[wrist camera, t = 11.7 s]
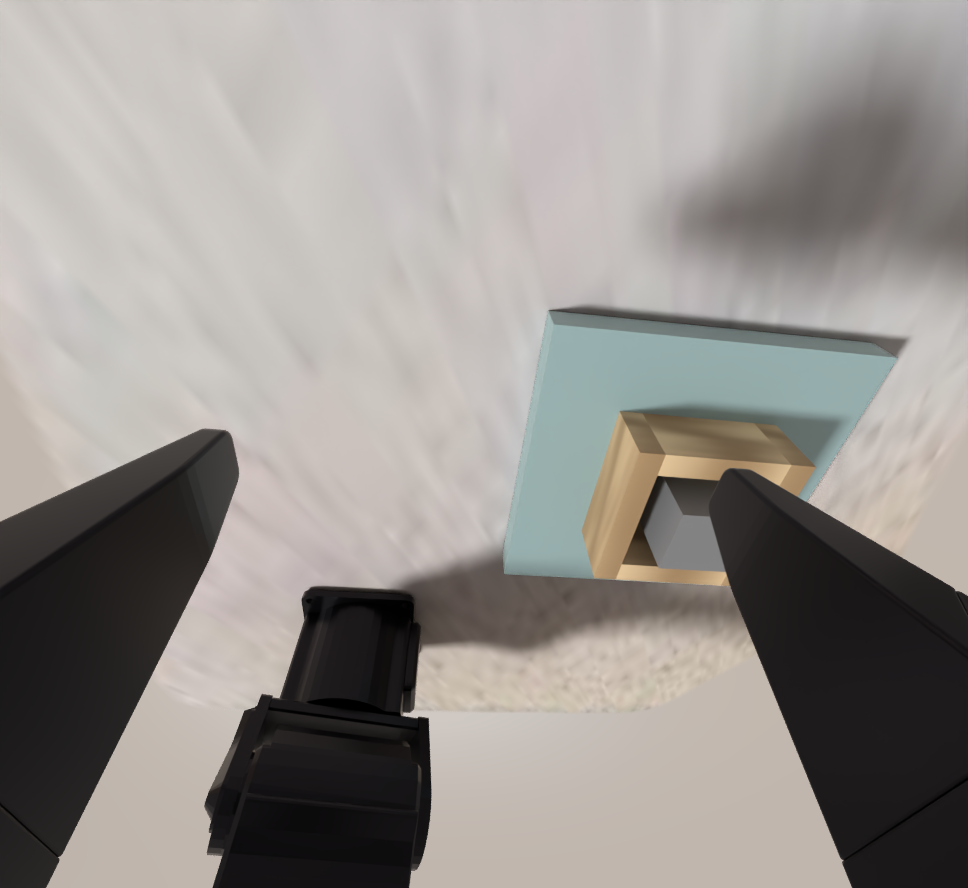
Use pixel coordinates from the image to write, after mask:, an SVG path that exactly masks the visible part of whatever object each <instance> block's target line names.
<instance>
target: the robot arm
mask: <svg viewBox="0 0 968 888" xmlns="http://www.w3.org/2000/svg"><path fill="white" fill-rule="evenodd" d="M238 478H239V467H238V462H237V458H236V453H235V448H234V444H233V439H232V436H231V434H230V433H229V432H228V431H226V430H216V429H201V430H199V431H197V432H194V433H192V434H190V435H188V436H186V437H184V438H181V439H179V440H177V441H175V442H173V443H171V444H168V445H166V446H164V447H162V448H160V449H157V450H155V451H153V452H151V453H149V454H147V455H144V456H142V457H140V458H138V459H136V460H134V461H131V462H129V463H127V464H125V465H123V466H120V467H118V468H116V469H114V470H112V471H110V472H107V473H105V474H103V475H101V476H99V477H96V478H94V479H92V480H90V481H88V482H86V483H83V484H81V485H79V486H77V487H75V488H73V489H70V490H68V491H66V492H64V493H62V494H59V495H57V496H55V497H53V498H51V499H49V500H47V501H44V502H42V503H40V504H38V505H36V506H33V507H31V508H29V509H27V510H25V511H22V512H20V513H18V514H16V515H14V516H12V517H9V518H7V519H5V520H3V521H1V522H0V888H46V887H47V885H48V883H49V881H50V879H51V877H52V875H53V873H54V871H55V869H56V867H57V864H58V863H59V858H58V857H59V856H61V855H62V854H63V852H64V850H65V848H66V846H67V844H68V842H69V840H70V838H71V836H72V834H73V832H74V830H75V827H76V826H77V824H78V822H79V820H80V818H81V815H82V814H83V812H84V810H85V807H86V806H87V804H88V801H89V800H90V798H91V796H92V794H93V792H94V790H95V788H96V785H97V784H98V782H99V780H100V778H101V776H102V773H103V772H104V770H105V768H106V766H107V764H108V762H109V759H110V758H111V756H112V754H113V752H114V750H115V748H116V746H117V744H118V741H119V740H120V737H121V735H122V733H123V732H124V730H125V728H126V725H127V723H128V722H129V720H130V718H131V716H132V713H133V712H134V709H135V708H136V706H137V703H138V702H139V700H140V698H141V696H142V694H143V692H144V690H145V688H146V685H147V684H148V681H149V680H150V678H151V676H152V674H153V672H154V670H155V668H156V666H157V664H158V662H159V660H160V658H161V656H162V654H163V652H164V650H165V648H166V646H167V644H168V642H169V640H170V638H171V636H172V634H173V632H174V630H175V628H176V626H177V624H178V622H179V620H180V618H181V616H182V614H183V612H184V610H185V608H186V606H187V604H188V602H189V600H190V598H191V596H192V594H193V592H194V589H195V587H196V585H197V583H198V581H199V579H200V577H201V575H202V573H203V571H204V569H205V567H206V565H207V563H208V561H209V559H210V557H211V555H212V552H213V549H214V547H215V544H216V542H217V539H218V536H219V533H220V530H221V527H222V525H223V522H224V519H225V516H226V513H227V511H228V508H229V505H230V502H231V499H232V496H233V494H234V491H235V488H236V485H237V482H238ZM708 509H709V516H710V519H711V523H712V526H713V530H714V533H715V537H716V540H717V544H718V547H719V551H720V554H721V558H722V561H723V565H724V568H725V572H726V575H727V578H728V581H729V584H730V587H731V589H732V592H733V595H734V597H735V600H736V602H737V605H738V607H739V610H740V612H741V615H742V617H743V619H744V622H745V624H746V627H747V629H748V632H749V634H750V637H751V639H752V642H753V644H754V647H755V649H756V651H757V654H758V656H759V659H760V661H761V664H762V666H763V668H764V671H765V674H766V676H767V679H768V681H769V683H770V686H771V688H772V691H773V693H774V696H775V698H776V701H777V703H778V706H779V708H780V710H781V713H782V715H783V718H784V720H785V723H786V725H787V728H788V730H789V733H790V735H791V738H792V740H793V742H794V745H795V747H796V750H797V752H798V755H799V757H800V760H801V762H802V764H803V767H804V770H805V772H806V774H807V777H808V779H809V782H810V784H811V787H812V789H813V792H814V794H815V797H816V799H817V801H818V804H819V806H820V809H821V811H822V814H823V816H824V819H825V821H826V824H827V826H828V828H829V831H830V834H831V836H832V838H833V841H834V843H835V846H836V848H837V850H838V853H839V856H840V858H841V859H842V860H843V862H842V863H843V866H844V869H845V871H846V874H847V876H848V879H849V881H850V884H851V886H852V888H968V596H967V595H965V594H963V593H962V592H959V591H955V589H954V588H953V587H951V586H950V585H948V584H946V583H944V582H943V581H941V580H939V579H938V578H936V577H934V576H932V575H931V574H929V573H927V572H926V571H924V570H922V569H920V568H918V567H917V566H915V565H914V564H912V563H910V562H908V561H907V560H905V559H903V558H902V557H900V556H898V555H896V554H895V553H893V552H891V551H890V550H888V549H886V548H884V547H883V546H881V545H879V544H878V543H876V542H874V541H872V540H871V539H869V538H867V537H866V536H864V535H862V534H860V533H859V532H857V531H855V530H854V529H852V528H850V527H848V526H847V525H845V524H843V523H842V522H840V521H838V520H836V519H835V518H833V517H831V516H830V515H828V514H826V513H824V512H823V511H821V510H819V509H818V508H816V507H814V506H812V505H811V504H809V503H807V502H806V501H804V500H802V499H800V498H799V497H797V496H795V495H794V494H792V493H790V492H788V491H787V490H785V489H783V488H782V487H780V486H778V485H776V484H775V483H773V482H771V481H770V480H768V479H766V478H764V477H763V476H761V475H759V474H758V473H756V472H754V471H752V470H750V469H741V468H729V469H727V470H725V471H724V472H723V474H722V476H721V478H720V480H719V482H718V484H717V486H716V488H715V490H714V492H713V494H712V496H711V498H710V501H709V507H708ZM302 606H303V613H304V619H305V620H304V623H303V627H302V630H301V633H300V636H299V639H298V642H297V646H296V649H295V652H294V655H293V658H292V661H291V664H290V668H289V671H288V674H287V677H286V680H285V683H284V686H283V690H282V693H281V696H280V699H279V698H272V697H273V696H272V695H266V694H262V695H261V697H260V700H259V703H258V705H257V706H255V708H252V709H248V710H245V711H244V713H243V716H242V719H241V721H240V724H239V727H238V729H237V732H236V735H235V737H234V740H233V742H232V745H231V747H230V749H229V752H228V754H227V756H226V758H225V760H224V762H223V764H222V766H221V768H220V770H219V772H218V774H217V776H216V778H215V780H214V782H213V784H212V786H211V789H210V791H209V793H208V796H207V798H206V802H205V806H204V807H205V809H206V811H207V813H208V815H209V817H210V820H211V824H210V828H209V833H211V837H210V841H209V846H208V850H207V855H218V856H222V859H221V863H220V866H219V869H218V872H217V875H216V878H215V882H214V885H213V888H409V884H410V875H411V871H415V870H417V868H418V867H419V864H420V863H421V860H422V857H423V853H424V849H425V845H426V840H427V835H428V829H429V822H430V812H431V811H430V810H431V767H430V741H429V719H428V718H425V717H418V718H411V717H405V716H403V712H406V713H410V712H411V711H412V710H413V709H414V706H415V694H416V683H417V672H418V661H419V650H420V634H421V626H420V624H419V623H418V622H414V608H415V599H414V598H413V597H412V596H410V595H403V594H382V593H362V592H341V591H321V590H308V591H305V592H304V594H303V597H302Z"/></svg>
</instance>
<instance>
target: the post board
mask: <svg viewBox="0 0 968 888" xmlns="http://www.w3.org/2000/svg"><path fill="white" fill-rule="evenodd" d="M897 359H898V358H897V357H896V356H894V355H892V354H890V353H889V352H887V351H885V350H884V349H882V348H880V347H879V346H877V345H875V344H874V343H868V342H858V341H848V340H838V339H828V338H818V337H808V336H798V335H788V334H778V333H768V332H758V331H748V330H738V329H728V328H718V327H708V326H698V325H688V324H678V323H668V322H658V321H648V320H638V319H628V318H618V317H608V316H598V315H588V314H578V313H568V312H558V311H548V315H547V320H546V326H545V331H544V336H543V342H542V347H541V352H540V358H539V363H538V368H537V373H536V379H535V384H534V389H533V395H532V400H531V405H530V411H529V416H528V421H527V426H526V432H525V437H524V442H523V448H522V453H521V458H520V464H519V469H518V474H517V479H516V485H515V490H514V495H513V501H512V506H511V511H510V517H509V522H508V527H507V532H506V538H505V543H504V548H503V565H504V574H509V575H528V576H547V577H566V578H584V579H600V578H594V576H593V572H592V568H591V564H590V561H589V557H588V553H587V549H586V546H585V542H584V538H583V534H582V528H583V525H584V521H585V518H586V515H587V512H588V509H589V506H590V503H591V499H592V496H593V493H594V490H595V487H596V484H597V480H598V477H599V474H600V471H601V468H602V465H603V462H604V458H605V455H606V452H607V449H608V446H609V443H610V439H611V436H612V433H613V430H614V427H615V424H616V421H617V417H618V414H619V411H624V412H635V413H646V414H657V415H668V416H680V417H691V418H702V419H713V420H724V421H735V422H747V423H758V424H769V425H776V426H777V427H778V428H779V429H780V430H781V431H782V432H783V433H784V434H785V435H786V436H787V437H788V438H789V439H790V440H791V441H792V442H793V444H794V445H795V446H796V447H797V448H798V449H799V450H800V451H801V452H802V453H803V454H804V455H805V456H806V457H807V458H808V459H809V460H810V461H811V462H812V463H813V464H814V465H815V466H816V468H815V470H814V471H813V473H812V475H811V476H810V478H809V479H808V481H807V483H806V484H805V486H804V487H803V489H802V491H801V492H800V494H799V495H798V497H799V498H800V499H802V500H804V501H806V502H807V500H808V498H809V497H810V495H811V494H812V492H813V491H814V489H815V487H816V486H817V484H818V483H819V481H820V480H821V478H822V476H823V475H824V473H825V472H826V470H827V469H828V467H829V465H830V464H831V462H832V461H833V459H834V458H835V456H836V454H837V453H838V451H839V450H840V448H841V447H842V445H843V443H844V442H845V440H846V439H847V437H848V436H849V434H850V432H851V431H852V429H853V428H854V426H855V425H856V423H857V421H858V420H859V418H860V417H861V415H862V414H863V412H864V410H865V409H866V407H867V406H868V404H869V403H870V401H871V399H872V398H873V396H874V395H875V393H876V392H877V390H878V388H879V387H880V385H881V384H882V382H883V381H884V379H885V377H886V376H887V374H888V373H889V371H890V370H891V368H892V366H893V365H894V363H895V362H896V360H897ZM718 482H719V481H718V480H705V479H692V478H679V477H666V476H657V478H656V481H655V483H654V486H653V488H652V491H651V493H650V496H649V498H648V500H647V503H646V505H645V508H644V510H643V513H642V515H641V518H640V520H639V521H640V524H641V526H642V529H643V531H644V534H645V536H646V538H647V541H648V543H649V546H650V548H651V551H652V553H653V555H654V558H655V560H656V563H657V565H658V568H662V569H680V570H698V571H716V572H725V568H724V565H723V561H722V558H721V554H720V551H719V547H718V544H717V540H716V537H715V533H714V530H713V526H712V523H711V519H710V516H709V509H708V507H709V501H710V498H711V496H712V494H713V492H714V490H715V488H716V486H717V484H718ZM603 580H617V579H603ZM622 581H634V580H622ZM641 582H651V581H641ZM659 583H668V582H659ZM678 584H685V583H678ZM697 585H703V584H697ZM716 586H720V585H716Z"/></svg>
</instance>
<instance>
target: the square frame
mask: <svg viewBox="0 0 968 888" xmlns="http://www.w3.org/2000/svg"><path fill="white" fill-rule="evenodd" d="M729 468H741V469H750V470H752V471H754V472H756V473H758V474H759V475H761V476H763V477H764V478H766V479H768V480H770V481H771V482H773V483H775V484H776V485H778V486H780V487H782V488H783V489H785V490H787V491H788V492H790V493H792V494H794V495H795V496H797V497H798V495H799V494H800V492H801V491H802V489H803V487H804V486H805V484H806V483H807V481H808V479H809V478H810V476H811V475H812V473H813V471H814V470H815V468H816V466H815V465H814V464H813V463H812V462H811V461H810V460H809V459H808V458H807V457H806V456H805V455H804V454H803V453H802V452H801V451H800V450H799V449H798V448H797V447H796V446H795V445H794V444H793V442H792V441H791V440H790V439H789V438H788V437H787V436H786V435H785V434H784V433H783V432H782V431H781V430H780V429H779V428H778V427H777V426H776V425H769V424H758V423H747V422H735V421H724V420H713V419H702V418H691V417H680V416H668V415H657V414H646V413H635V412H624V411H619V414H618V417H617V421H616V424H615V427H614V430H613V433H612V436H611V439H610V443H609V446H608V449H607V452H606V455H605V458H604V462H603V465H602V468H601V471H600V474H599V477H598V480H597V484H596V487H595V490H594V493H593V496H592V499H591V503H590V506H589V509H588V512H587V515H586V518H585V521H584V525H583V528H582V534H583V538H584V542H585V546H586V549H587V553H588V557H589V561H590V564H591V568H592V572H593V576H594V578H600V579H617V580H634V581H651V582H668V583H685V584H703V585H720V586H730V584H729V581H728V578H727V575H726V572H716V571H698V570H680V569H662V568H658V565H657V563H656V560H655V558H654V555H653V553H652V551H651V548H650V546H649V543H648V541H647V538H646V536H645V534H644V531H643V529H642V526H641V524H640V521H639V520H640V518H641V515H642V513H643V510H644V508H645V505H646V503H647V500H648V498H649V496H650V493H651V491H652V488H653V486H654V483H655V481H656V478H657V476H666V477H679V478H692V479H705V480H718V481H719V480H720V478H721V476H722V474H723V472H724V471H725V470H727V469H729Z"/></svg>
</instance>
